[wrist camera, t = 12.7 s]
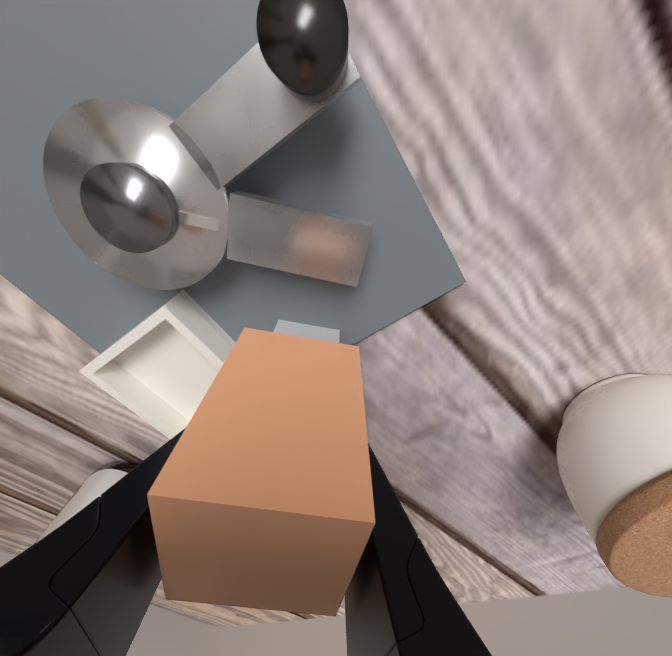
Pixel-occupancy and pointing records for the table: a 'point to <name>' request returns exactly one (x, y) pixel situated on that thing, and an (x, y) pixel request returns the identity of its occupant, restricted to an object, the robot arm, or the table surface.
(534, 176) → the table surface
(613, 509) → the lidded bowl
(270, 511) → the block
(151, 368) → the tray
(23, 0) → the faceplate
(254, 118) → the crank wheel
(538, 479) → the table surface
